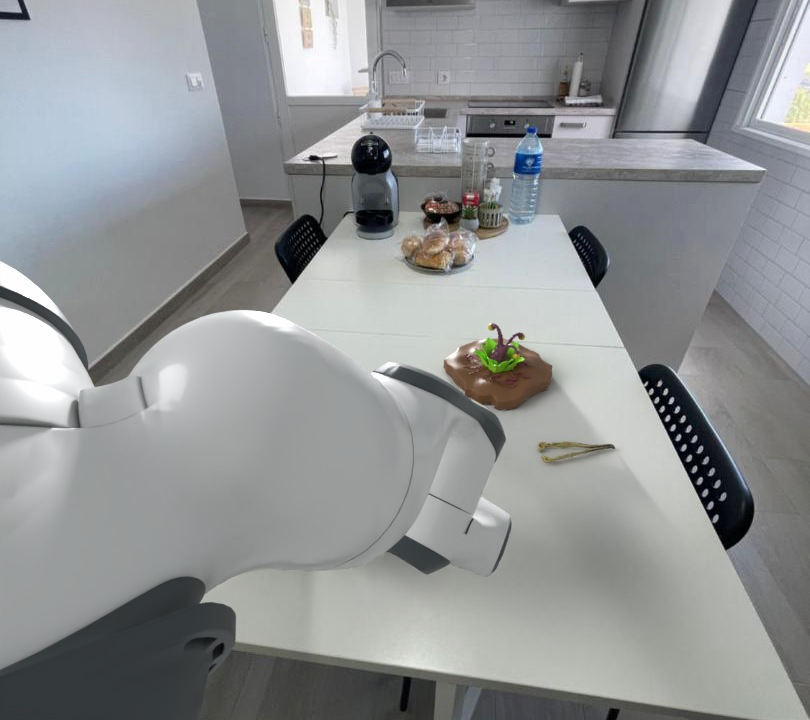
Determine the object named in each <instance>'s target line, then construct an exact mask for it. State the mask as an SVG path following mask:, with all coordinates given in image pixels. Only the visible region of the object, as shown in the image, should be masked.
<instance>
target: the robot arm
mask: <svg viewBox="0 0 810 720" xmlns="http://www.w3.org/2000/svg"><path fill="white" fill-rule="evenodd" d="M506 441H507V437H506V434H505V431H504V428H503V425H502V423H501V421H500V419H499V417H498V416H497V415H496V413H494V412H493V411H491V410H490V409H489V408H488V407H487V406H485V405H484V404H480V403H478V402H476V401H475V400H474V399H473V398H470V397H467V396H465V393H463V392H462V391H460V390H459V389H458V388H457V387H455V386H454V385H453V384H451V383H449V382H448V381H446V380H444V379H443V378H442V377H439V376H438V375H435V374H434V373H431V372H429V371H426V370H424V369H421V368H419V367H415V366H412V365H409V364H405V363H400V362H385V363H384V364H382V365H380V366H379V367H377V368H375V369H374V370H372V372H370V371H369V370H368V369H367V368H365V366H364V365H362V364H361V363H360V362H359V361H357V360H356V359H354V358H353V357H352V356H350V355H349V354H347V353H346V352H345V351H343V350H342V349H340V348H339V347H337V346H336V345H334V344H332V343H331V342H329V341H327V340H326V339H324V338H323V337H321V336H319V335H317V334H316V333H314V332H312V331H310V330H308V329H307V328H304V327H302V326H300V325H299V324H297V323H294V322H293V321H291V320H288V319H287V318H284V317H281V316H278V315H275V314H271V313H268V312H264V311H256V310H249V309H238V310H237V309H236V310H235V309H234V310H226V311H219V312H214V313H209V314H206V315H203V316H200V317H198V318H195V319H193V320H191V321H188V322H186V323H184V324H182V325H181V326H178V327H177V328H175V329H173V330H171V331H170V332H169V333H168V334H166V335H165V336H163V337H162V338H161V339H160V340H158V341H157V342H155V344H154V345H152V347H150V349H149V350H147V351H146V353H145V354H143V355H142V357H141V358H140V359H139V360H138V361H137V363H136V364H135V366H134V367H133V368H132V370H131V372H129V374H128V376H127V377H124V378H122V379H120V380H118V381H115V382H112V383H108V384H103V385H99V386H95V385H94V383H93V381H92V378H91V377H90V374H89V359H88V354H87V351H86V349H85V346H84V344H83V342H82V340H81V338H80V337H79V336H78V334H77V333H76V331H75V329H74V328H73V326H72V325H71V323H70V322H69V320H68V319H67V318H66V316H65V315H64V313H63V312H62V311H61V309H60V308H59V307H58V305H56V304H55V302H54V301H53V300H52V299H51V298H50V297H49V296H48V295H47V294H46V293H45V292H44V291H43V290H42V289H41V288H40V287H39V286H38V285H37V284H35V283H34V282H33V281H32V280H30V279H29V278H28V277H27V276H26V275H24V274H23V273H21V272H20V271H18V270H17V269H15V268H14V267H12V266H10V265H8V263H7V264H6V263H5V262H3V261H1V260H0V720H200V716H201V711H202V706H203V703H204V696H205V691H206V687H207V682H208V678H209V677H210V676H211V675H212V674H213V673H214V672H215V671H216V670H217V669H218V668H219V667H220V666H221V665H222V664H223V662H224V661H225V660H226V659H227V657H228V656H229V655H230V653H231V652H232V651H233V648H234V646H235V644H236V639H237V637H236V636H237V614H236V612H235V610H233V608H232V607H231V606H229V605H227V604H224V603H219V602H214V601H206V602H202V600H203V598H204V597H205V595H206V594H207V593H209V592H211V591H212V590H214V589H216V587H218V586H219V585H221V584H223V583H225V582H226V581H229V580H230V579H232V578H234V577H236V576H237V577H238V576H240V575H243V574H246V573H249V572H253V571H260V570H277V571H288V572H289V571H293V572H294V571H295V572H317V571H318V572H319V571H320V572H321V571H322V572H323V571H324V572H325V571H340V570H345V569H351V568H355V567H358V566H362V565H364V564H367V563H370V562H372V561H373V560H375V559H377V558H378V557H380V556H382V555H384V554H385V553H389V554H391V555H394V556H396V557H398V558H399V559H400V560H402V561H404V562H405V563H407V564H408V565H410V566H412V567H414V568H415V569H416V570H418V571H419V572H421V573H422V574H423V575H426V576H428V575H431V574H433V573H435V572H437V571H439V570H441V569H444V568H445V567H447V566H449V565H453V566H454V567H457V568H459V569H463V570H465V571H468V572H470V573H474V574H477V575H479V576H482V577H489V576H490V575H492V574H493V573H494V572H495V571H496V570H497V568H498V567H499V565H500V562H501V560H502V558H503V556H504V553H505V551H506V547H507V545H508V542H509V539H510V534H511V531H512V524H513V523H512V517H511V515H510V514H509V513H508V512H507V511H505V510H504V509H503V508H501V507H499V506H498V505H496V504H494V503H493V502H491V501H489V500H488V499H486V498H485V497H483V496H482V495H483V493H484V491H485V488H486V485H487V482H488V480H489V477H490V475H491V472H492V469H493V468H494V465H495V463H496V462H497V461H498V458H499V456H500V454H501V452H502V450H503V447H504V445H505V443H506Z"/></svg>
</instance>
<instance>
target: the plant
mask: <svg viewBox="0 0 810 720" xmlns="http://www.w3.org/2000/svg"><path fill="white" fill-rule="evenodd" d="M487 327H488V328H487V329H488V330H489V331H490V332H492V331H493V332H494V331H495V330H496V332H497V338H492V337H491V338H490V337H486V338H482V339H478V340H477V339H476V340H474V341H471V342H468V343H466V344H463V345H460V346H458V347H457V349H456V351H454V352H453V353H452V354H450V355H448V356H447V357H446V358H444V359H443V369H444V372H445V374H447V375H448V376H449V377H451V379H452V381H453V382H454V384H456V386H458V387H459V388H460V389H462V390H463V392H464V395H465V396H467V397H468V398H470V399H472V400H474V401H476V402H478V403H480V404H482V405H493V407H494V409H496V410H502V411H503V410H505V411H507V410H514V409H516V408H518V407H520V406H521V405H523V404H524V403H525V402H526V400H528V399H530V398H531V397H532V396H535V395H536V394H539V393H541V392H545V391H548V389H549V386H550V384H551V382H552V378H553V365H552V364H550V363H548V362H546V361H544V359H542V357H541V355H540V354H539V353H538V352H536V351H534V350H531V349H529V348H527V347H525V346H523V345H522V344H520V343H519V341H514V339H515V338H516V337H517V338H518V340H520V341H524V340H525V339H526V335H525V334H524V333H523V332H516V333H514V334H512V335H511V336H510V337H509V338H508V339H507V338H504V336H503V332H502V330H501V328H500V326H499V325H498V324H496V323H495V322H491V323H489V324H488V326H487Z"/></svg>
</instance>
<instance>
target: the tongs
mask: <svg viewBox="0 0 810 720" xmlns="http://www.w3.org/2000/svg"><path fill="white" fill-rule="evenodd" d="M537 447H538V449H537V451H541V450H542V449H543V450H544V449H548V448H560V449H568V448H580V449H581V448H583V450H579V451H572V452H568V453H565V454H561V455H556V456H554V457H552V458H551V457H550V456H546V455H544V454H543V455H541V457H540V459H541V460H542V462H544V463H551V462H556V461H560V460H565V459H571V458H574V457H576V456H579V455H580V456H581V455H585V454H589V453H592V452H596V451H603V450H610V449H613V450H616V446H615V445H614V444H612V443H605V444H604V443H603V444H588V443H587V444H586V443H582V442H575V441H552V442H545V441H541V442H538V444H537Z"/></svg>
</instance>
